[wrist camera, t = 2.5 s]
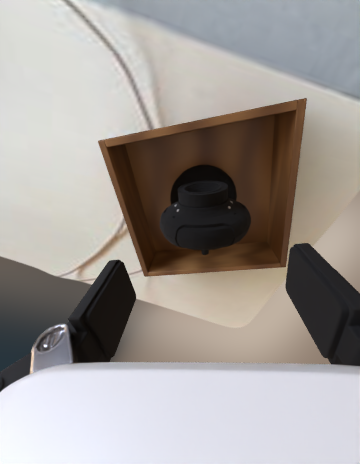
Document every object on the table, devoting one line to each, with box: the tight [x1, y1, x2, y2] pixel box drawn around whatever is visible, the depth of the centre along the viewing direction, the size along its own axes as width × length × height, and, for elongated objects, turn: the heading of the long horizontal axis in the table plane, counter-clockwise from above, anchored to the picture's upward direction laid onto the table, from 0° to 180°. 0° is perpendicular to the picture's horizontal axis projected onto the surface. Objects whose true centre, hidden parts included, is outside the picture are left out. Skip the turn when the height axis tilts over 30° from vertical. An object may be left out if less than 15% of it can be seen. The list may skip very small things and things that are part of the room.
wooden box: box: [98, 98, 307, 277], centre depth 20 cm, size 16×15×5 cm
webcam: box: [160, 165, 251, 255], centre depth 17 cm, size 8×8×10 cm
